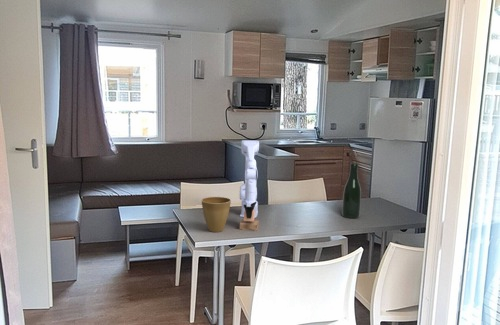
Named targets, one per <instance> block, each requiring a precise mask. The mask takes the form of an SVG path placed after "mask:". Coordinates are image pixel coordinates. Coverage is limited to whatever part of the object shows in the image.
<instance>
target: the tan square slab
mask: <svg viewBox="0 0 500 325" xmlns="http://www.w3.org/2000/svg"><path fill="white" fill-rule="evenodd" d="M259 224H260V220H257V219H254V221H244V218H243V219H241V220H240V222H239V230H240V229H242V230H241V231H243V230H244V231H253V230H254V231H253V232H255V231H256V232H257V231H258V228H259V226H260V225H259Z"/></svg>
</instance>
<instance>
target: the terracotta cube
mask: <svg viewBox="0 0 500 325" xmlns="http://www.w3.org/2000/svg"><path fill="white" fill-rule="evenodd" d="M243 219H244V221H254V220H256V219H255V210H253V212H252V217H251V219H250V218H247V216H246V211H244V217H243Z"/></svg>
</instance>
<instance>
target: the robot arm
mask: <svg viewBox="0 0 500 325" xmlns="http://www.w3.org/2000/svg"><path fill="white" fill-rule="evenodd" d="M240 146H241V148H240V149H241V150H240V151H241V154H242V155H243V156H244V157H245V166H244V167H245V168H244V183H243V184H242V185H241V186H240V187H239V200H240V201H241V210H240V211H241V212H240V214H239V217H242V218H244V211H246V216H247V218H250V219H251V217H252V212H253V210H255V218H256V219H257V217H258V214H259V211H258V210H259V209H258V208H259V207H258V206H259V201H257V199H258V188H257V180H258V177H259V176H258V174H259V173H258V172H259V171H258V168H257V161H256V159H255V156H256V155H258V154H259V150H260V141H259V140H252V139H251V140H248V139H247V140H246V139H242V140H241V145H240Z"/></svg>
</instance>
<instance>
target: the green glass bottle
mask: <svg viewBox="0 0 500 325" xmlns="http://www.w3.org/2000/svg"><path fill="white" fill-rule="evenodd" d="M349 165H350V168H349V176H348V179H347V181H346V184H345V186H344V189H343V196H342V204H341V205H342V208H341V215H342V216H341V217H343V218H347V219H359V218H360V216H361V202H362V188H361V184H360V181H359V177H358V173H359V172H358V169H359V163H358V161H355V160H353V161H351V162H350V164H349Z"/></svg>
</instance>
